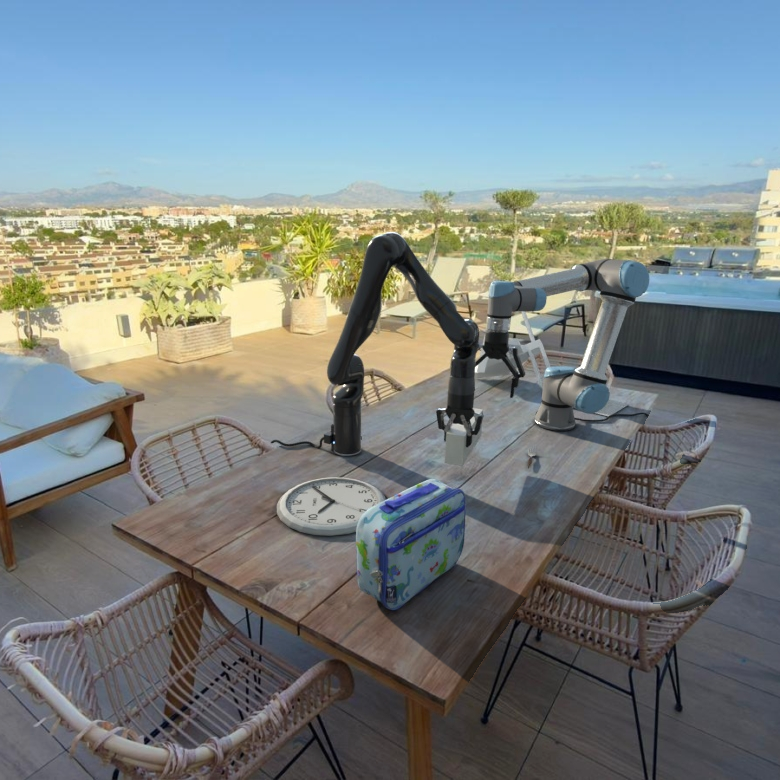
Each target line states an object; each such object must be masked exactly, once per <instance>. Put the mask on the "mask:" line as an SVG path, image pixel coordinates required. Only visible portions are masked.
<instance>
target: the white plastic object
mask: <svg viewBox="0 0 780 780" xmlns="http://www.w3.org/2000/svg"><path fill="white" fill-rule="evenodd" d="M520 312H521V313H520V314H521V315H522V319H523V321H524V324H525V325H524V326H525V328H526V331H527V334H528V336H529V339H530V342H528V343H526V344H522V343H521V342H520V341H519V338H518V337H517V338H512V339H509V341H508V346H509V347H511V348H514V347H517V348H518V355H519V358H520V361H521V363H522V364H524V363H525V362H527V361H528V360H529V359H530V361H531V362H530V363H531V364H532V365H531V366H532V369H533V371H534V374H535V377H536V380H537V383H538V386H539V387H540V389H541V390H542V391H543V378H542V375H541V372H540V369H539V366H538V363H537V359H536V357H535V355H536V356H537V355H538V354H541V356H542V359H543V361H544V362H543V363H544V364H545V367H546V369H547V368H549V367H551V363H550V361H549V358H548V355H547V353H546V350H545V346H544V344H543V341H542V340H541V338H538V339H535V336H534V333H533V330H532V327H531V324H530V321H529V317H528V315H527V312H526V311H520ZM484 342H485V334H484V335H483V340H482V344H483V345H484ZM484 354H485V352H484V350H483V348H481V349H480V355H479V358H480V357H482V356H483V355H484ZM506 355H507V356H508V358H509V360H510V361H511V363H512V364H513V366H514V367H515V369H517V365H516V363H515V360H514V357H513V354H511V352H510V351H508V352H507V353H506ZM509 375H511V371H510V370H509V368H508V367H507V366H506V364H505V363H504V362H503V360H502V359H499V360H497V359H489V358H488V357H486V358H485V359H484V360H483V361H482V362H481V363H479V364H478V365H477V366H476V367H475V379H483V378H484V379H485V378H492V377H501V378H503V377H506V376H509Z"/></svg>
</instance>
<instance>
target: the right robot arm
mask: <svg viewBox="0 0 780 780" xmlns="http://www.w3.org/2000/svg"><path fill="white" fill-rule="evenodd" d="M649 285H650V273H649V271H648V268H647V266H646V265H645V264H644V263H642V262H640V261H635V260H631V259H615V258H614V259H612V258H602V259H596V260H592V261H588V262H584V263H580V264H576V265H574V266H573V267H572V268H570V269H566V270H565V269H564V270H561V271H555V272H552V273H547V274H543V275H538V276H533V277H529V278H523V279H520V280H515V281H508V280H493V281H492V282H491V283H490V285H489V290H488V299H487V300H488V302H487V312H486V313H487V314H486V324H485V328H486V330H485V333H484V335H485V342H484V345H483V343H480V341H479V342H478V347H477V352H478V351H481V349H482V348H483V350H484V352H485V354H484V355H483V356H482V357H480V356H479V358H478V359H477V360H475V367H476V366H477V365H478V364H479V363H481V362H482V361H483V360H484V359H485V358H486V357H488V358H489V359H497V360H499V359H502V360H503V362H504V363H505V364H506V366H507V367H508V368H509V370H510V371H511V372H510V374H512V378H511V385H510V394H509V398H510V399H511V398H512V399H513V398H514V396H515V389H517V388H518V387H519V382H520V378H521V379H522V378H524V377H525V376H526V371H525V368H524V366H523V363H521V361H520V358H519V355H518V348H517V347H514V348H511V347H509V346H508V341H509V340H510V339H509V338H510V332H509V331H510V330H511V321H512V315H513V312H514V313H515V312H521V311H525V312H531V313H534V312H539V311H543V309H544V308H545V307H546V304H547V300H548V298H547V297H550V296H554V295H559V294H563V293H567V292H572V291H577V292H585V291H594V292H600V293H599V295H598V296H599V298H600V300H601V303H600V307H599V310H598V311H597V312H598V313H597V316H596V319H595V322H594V325H593V327H592V331H591V333H590V336H589V340H588V343H587V345H586V349H585V351H584V354H583V357H582V361H581V363H580V366H579V367H577V368H576V367H574V366H566V365H565V366H564V365H562V366H561V365H559V366H558V365H557V366H550V367H549V368H546V369H545V370H544V375H543V379H542V381H543V390H542V392H541V402H540V405H539V407H538V410H537V411H536V412H535V417H534V424H535V425H536V426H537V427H539V428H542V429H544V430H549V431H556V432H567V431H572V430H574V429H575V428H576V421H579V422H580V421H581V422H591V423H595V422H596V423H598V422H606V421H607V420H609V419H610V418H611V417H634V416H640V415H644V416H646V417H650V416H649V414H648V413H646V412H636V413H614V414H613V415H610V416H606V418H602V419H585V418H584V419H583V418H579V417H576V416H575V413H574V409H575V410H577V411H578V412H581V413H585V414H588V415H590V414H591V415H593V414H596V412H598V411H599V410H601V409H602V408H603V407H604V406H605V405H606V403H607V402H608V400H609V399H610V395H611V393H610V389H609V387H608V386H607V383H608V379H609V378H608V377H607V375H606V372H607V368H608V366H609V363H610V360H611V357H612V354H613V351H614V348H615V345H616V342H617V339H618V337H619V333H620V330H621V328H622V325H623V323H624V319H625V317H626V314H627V312H628V311H627V310H628V308H629V307H631V306H633V305H635V302H636V299H637V298H639V297H642V296H643V295H644V294H645V293H646V292H647V290H648V288H649ZM508 351H510V352H511V354H513V357H514V360H515V363H516V365H517V367H516V368H515V367H514V366H513V364H512V363H511V361H510V360H509V358H508V356H507V355H506V353H507V352H508Z"/></svg>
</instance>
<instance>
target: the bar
mask: <svg viewBox="0 0 780 780" xmlns="http://www.w3.org/2000/svg"><path fill="white" fill-rule="evenodd" d="M473 409H474V412H475V413H477V414H483V415H484V409H482V408H481V409H480V408H475V407H473ZM470 422H471V426H472V429H475V426H476V421H475V418H474V417H472V418H471V419H470ZM482 430H483V423H482V424H481V427H480V430H479V432H478V434H477V435H472V444H471V445H470V446H469V447H466V437H467V432H466V429H465V428H464V425H460V424H452V426H451V428H450V429H449V431H448V432H447V433H446V442H445V446H444V447H445V448H444V464H448V465H452V466H458V467H463V466H464V464H465V463H466V461H467V460H468V458H469V456H470V455H471V453H472V451H473V450H474V448H475V447H476V445H477V443H478V442H479V440H480V439H481V437H482Z"/></svg>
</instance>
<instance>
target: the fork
mask: <svg viewBox="0 0 780 780" xmlns="http://www.w3.org/2000/svg"><path fill="white" fill-rule="evenodd" d="M533 448H535V449H533ZM533 448H531V447H529V448H528V451H527V456H529V459H528V460H527V469H530V467H531V465H532V463H533V460H532V459H533V457H535V456H537V445H536V447H535V445H534V446H533Z"/></svg>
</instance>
